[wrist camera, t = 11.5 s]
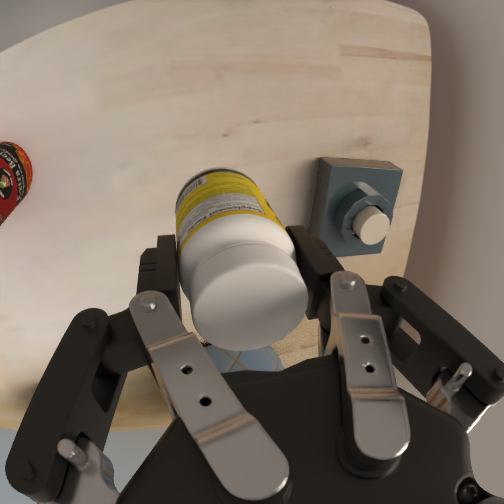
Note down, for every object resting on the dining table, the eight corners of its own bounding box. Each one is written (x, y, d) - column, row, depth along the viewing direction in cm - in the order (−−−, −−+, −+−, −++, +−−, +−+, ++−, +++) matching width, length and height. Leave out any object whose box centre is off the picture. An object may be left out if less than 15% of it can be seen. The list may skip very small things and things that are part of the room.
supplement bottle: (258, 240, 19) (307, 349, 12) (179, 246, 18) (188, 366, 11) (263, 162, 16) (331, 248, 9) (172, 167, 15) (171, 262, 9)
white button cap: (355, 205, 33) (364, 214, 32) (384, 205, 34) (393, 213, 32) (348, 236, 35) (356, 246, 34) (376, 234, 36) (385, 243, 35)
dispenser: (320, 157, 34) (339, 172, 30) (389, 161, 36) (413, 176, 32) (306, 246, 41) (320, 269, 37) (370, 241, 43) (388, 261, 39)
